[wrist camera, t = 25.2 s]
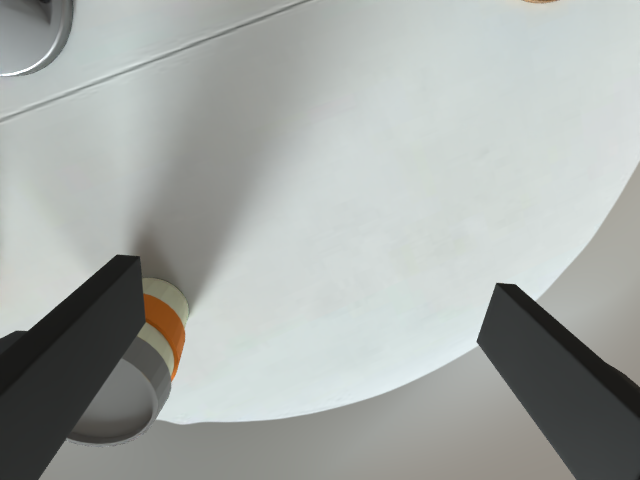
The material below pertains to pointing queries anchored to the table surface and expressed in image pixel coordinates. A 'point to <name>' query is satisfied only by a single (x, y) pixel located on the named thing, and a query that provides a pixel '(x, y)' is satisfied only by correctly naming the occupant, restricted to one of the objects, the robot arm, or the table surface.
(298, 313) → the table surface
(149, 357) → the reusable coffee cup
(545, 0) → the cork trivet
